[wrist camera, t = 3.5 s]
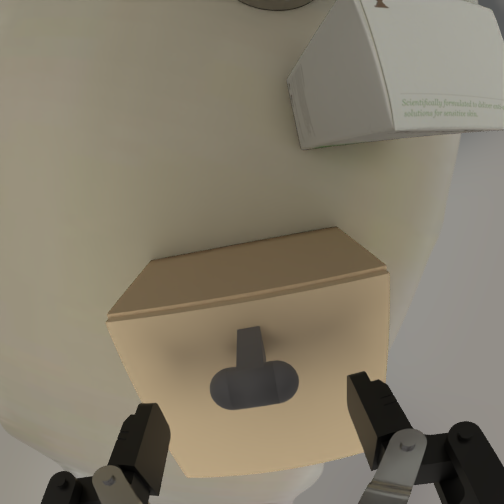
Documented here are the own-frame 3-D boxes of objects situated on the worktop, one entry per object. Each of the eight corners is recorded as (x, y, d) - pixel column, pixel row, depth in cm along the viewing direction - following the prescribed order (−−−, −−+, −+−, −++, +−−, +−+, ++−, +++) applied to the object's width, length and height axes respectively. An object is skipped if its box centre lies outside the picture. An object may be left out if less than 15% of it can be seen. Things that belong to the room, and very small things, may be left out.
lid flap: (109, 317, 16) (71, 369, 11) (385, 269, 16) (432, 311, 11) (187, 472, 21) (181, 520, 16) (374, 443, 21) (392, 489, 16)
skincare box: (299, 150, 24) (384, 140, 9) (283, 73, 22) (337, -30, 7) (391, 139, 23) (531, 137, 9) (377, 67, 22) (496, 4, 7)
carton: (151, 260, 26) (106, 314, 16) (336, 226, 26) (386, 265, 16) (197, 398, 31) (186, 471, 21) (345, 373, 30) (375, 442, 21)
